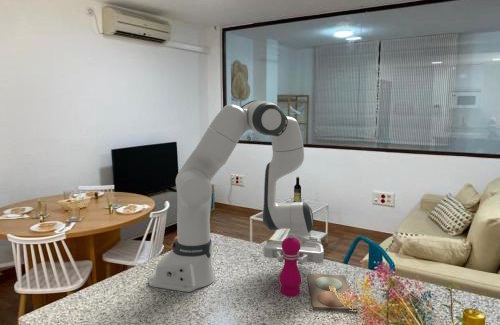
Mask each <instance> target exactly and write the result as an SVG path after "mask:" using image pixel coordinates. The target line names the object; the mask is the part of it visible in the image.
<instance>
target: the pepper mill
mask: <svg viewBox="0 0 500 325" xmlns="http://www.w3.org/2000/svg"><path fill="white" fill-rule="evenodd" d="M281 242H282V249H283V251H284V252H283V257H284V259H283V262H284V263H283V264H284V265H283V267H282V269H281V271H280V272H279V273H280V274H279V277H278V281H279V283H280V287H279V288H280V290H279V292H280V293H281V295H283V296H284V297H289V298H291V297H292V298H295V297H298V295H300V292H301V291H300V290H301V289H300V288H301V287H300V285H301V284H302V276H301V273H300V272H301V271H300V270H299V268H298V261H297V258H298V257H299V256H298V255H299V253H298V251H299V250H300V247H301V246H300V242H299V240H298V239H296V238H294V234H293V233H290V234H289V237H288V238H286V237H285V238H284V239H283V240H282V241H281Z"/></svg>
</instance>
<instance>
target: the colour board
mask: <svg viewBox="0 0 500 325" xmlns="http://www.w3.org/2000/svg"><path fill="white" fill-rule="evenodd" d="M306 277H307V281H308V282H307V283H308V289H309V296H310V301H311V307H312V308H311V309H312V311H326V312H327V311H328V312H330V311H331V312H345V311H349V310H352V309H350V308H347V307H345V306H344V305H343V304H341V302H340V301H339V299H338V298H337V296H336V295H335V292H333V291H330V289H329V286H335V288H336V291H337V293H340V294H343V293H345V291H346V290H347V289H350V286H349V285H350V284H349V283H348V281H347V278H346V275H345V274H344V275H343V274H342V275H340V274H321V273H307V276H306ZM350 290H351V289H350ZM353 310H357V311H358V308H354V309H353Z"/></svg>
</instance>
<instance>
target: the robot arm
mask: <svg viewBox="0 0 500 325" xmlns="http://www.w3.org/2000/svg"><path fill="white" fill-rule="evenodd" d="M250 130H251V131H252V132H254V133H256V134H261V135H265V136H269V137H270V138H269V139H270V140H271V147H272V148H271V149H272V156H271V160H270V162H269V163H267V164H266V167H265V170H264V186H263V187H264V188H263V189H264V190H263V209H262V218H261V219H262V224H263V226H265V227H266V228H267V229H269V230H270V231H278V230H279V231H280V230H288V229H289V230H288V233H287V235H286V236H285V238H288V237H289V234H290V233H293V234H294V238H296V239H298V240H299V242H300V246H301V247H300V250H299V251H298V253H299V255H298V256H299V257H298V258H297V265H304V263H315V264H322V263H324V259H325V258H324V254H325V251H324V245H323V244H322V240H321V238H316V237H313V236H312V230H313V227H314V215H313V214H314V213H313V211H312V207H311V206H309V204H308V203H306V202H305V201H295V202H293V201H292V202H280V203H279V202H276V191H277V188H276V186H277V182H278V181H279V180H280V179H281V178H283V177H285V176H287V175H290V174H291V173H293V172H295V171H297V169H299V168H300V167H301V166H302V164H303V163H304V160H305V149H304V148H305V146H304V141H303V136H302V132H301V128H300V124H299V122H298V120H297V119H296V118H294V117H292V116H288V115H286V114H285V113H284V111H283V109H281V107H280V106H278V105H277V104H276V103H273V102H271V101H267V100H252V101H249V102H246V103H245V104H243V105H241V106H239V105H237V104H233V103H231V104H230V103H229V104H226V105H225V106H223V107H222V108H221V110H220V111H219V112H218V113H217V115H216V116H215V117H214V118H213V120H211V122H210V125H209V126H208V127H207V129H206V131H205V132H204V134H203V136H202V137H201V139H200V141H199V142H198V144H197V146H196V147H195V149H194V150H193V151H192V153H191V154H190V155H189V157H188V158H187V159H186V161H185V162H184V164H182V166H181V168H180V170H179V171H178V173H177V175H176V177H175V186H176V195H177V196H176V199H177V200H176V203H177V205H176V206H177V207H176V209H177V210H176V212H177V213H176V214H177V215H176V226H177V229H176V231H177V232H176V233H177V236H175V237H174V238H173V241H172V242H171V246H170V248H171V251H169V252H168V253H166V254H165V255H164V256H162V257H161V259H159V261H158V262H157V263H156V264H157V265H156V268H155V270H154V271H153V272H152V273H151V275H150V276H149V278H148V285H149V286H150V287H153V288H161V289H166V290H173V291H179V292H186V293H190V292H193V291H195V290H196V289H201V288H204V287H207V286H209V285H211V284H212V283H213V282H214V281H215V279H216V276H215V273H214V269H213V268H214V267H213V264H212V253H213V250H212V249H213V248H212V247H213V246H212V245H213V244H212V239H211V211H212V210H211V209H212V194H213V191H212V190H213V189H212V188H213V187H212V186H213V185H212V182H211V181H212V180H213V179H214V177H215V175H216V174H217V173H218V172H219V171H220V170H221V169H222V167H224V165H226V163H227V161H228V159H229V158H230V156H231V155H232V153H233V152H234V149H235V148H236V146H238V143H239V141H240V140H241V137H242V136H243V135H244V134H245V133H247V132H248V131H250ZM282 242H283V241H279V240H269V241H267V242H266V243H265V244H264V246H263V250H262V251H263V253H262V254H263V256H264V257H265V258H271V259H277V262H278V263H283V262H284V257H283V252H284V251H283V249H282Z"/></svg>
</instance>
